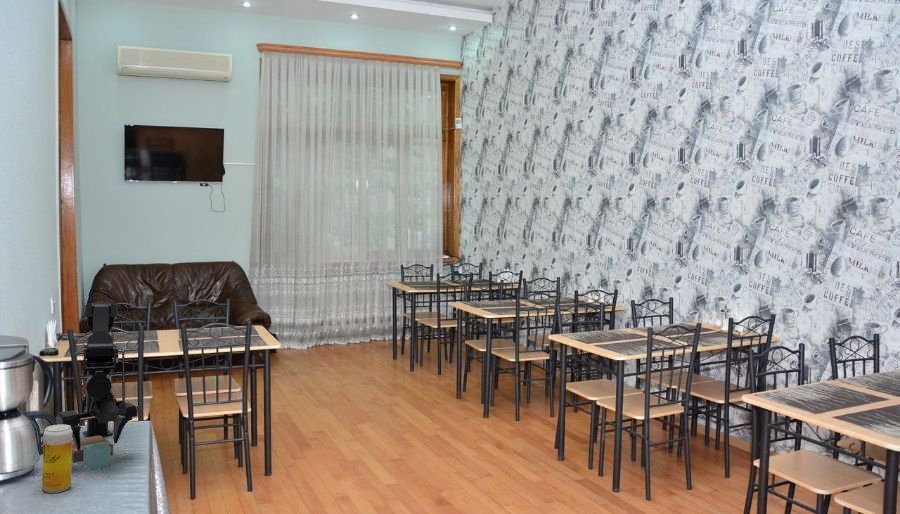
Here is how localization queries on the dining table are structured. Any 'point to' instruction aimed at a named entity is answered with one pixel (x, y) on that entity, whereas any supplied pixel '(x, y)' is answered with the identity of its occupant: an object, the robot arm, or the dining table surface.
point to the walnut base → (78, 454)
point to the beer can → (57, 458)
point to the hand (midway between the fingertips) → (97, 446)
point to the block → (96, 455)
